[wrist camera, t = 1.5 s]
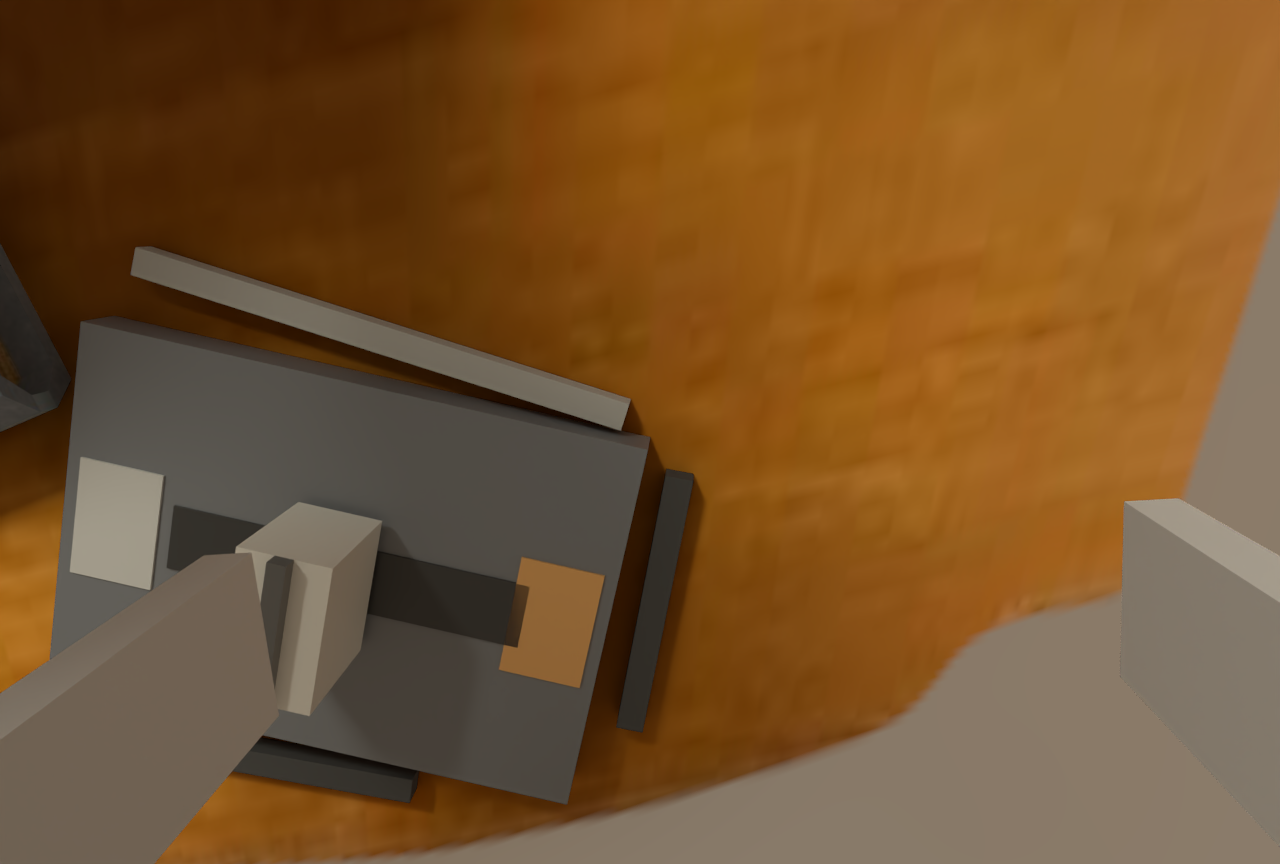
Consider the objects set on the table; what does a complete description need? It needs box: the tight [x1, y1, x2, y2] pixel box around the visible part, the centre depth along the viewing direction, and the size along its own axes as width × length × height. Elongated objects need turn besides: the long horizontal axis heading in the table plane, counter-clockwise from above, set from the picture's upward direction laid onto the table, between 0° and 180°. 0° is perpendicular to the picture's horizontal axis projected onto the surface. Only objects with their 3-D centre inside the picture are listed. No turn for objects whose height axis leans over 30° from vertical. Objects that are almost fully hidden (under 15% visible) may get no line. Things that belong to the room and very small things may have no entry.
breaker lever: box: [235, 502, 382, 716], centre depth 32 cm, size 3×5×5 cm, turn 167°
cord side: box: [617, 469, 693, 732], centre depth 36 cm, size 1×10×1 cm, turn 170°
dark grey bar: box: [233, 738, 419, 803], centre depth 39 cm, size 14×1×1 cm, turn 81°
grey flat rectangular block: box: [50, 316, 650, 805], centre depth 36 cm, size 20×14×2 cm
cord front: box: [130, 246, 631, 431], centre depth 35 cm, size 18×1×1 cm, turn 73°
